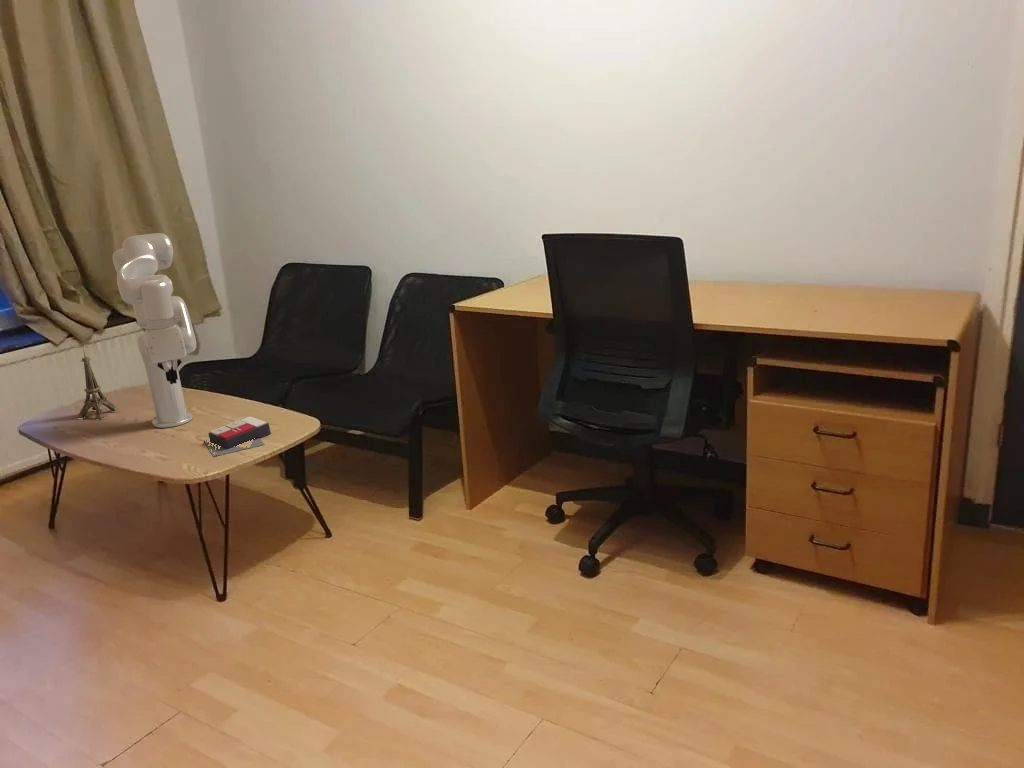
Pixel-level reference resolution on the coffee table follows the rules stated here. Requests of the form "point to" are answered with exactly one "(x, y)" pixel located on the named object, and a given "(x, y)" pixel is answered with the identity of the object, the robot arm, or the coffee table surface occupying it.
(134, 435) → the coffee table surface
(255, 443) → the desk mat
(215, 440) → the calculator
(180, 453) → the coffee table surface
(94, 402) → the eiffel tower
